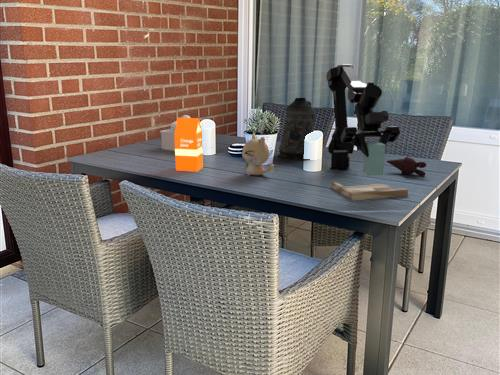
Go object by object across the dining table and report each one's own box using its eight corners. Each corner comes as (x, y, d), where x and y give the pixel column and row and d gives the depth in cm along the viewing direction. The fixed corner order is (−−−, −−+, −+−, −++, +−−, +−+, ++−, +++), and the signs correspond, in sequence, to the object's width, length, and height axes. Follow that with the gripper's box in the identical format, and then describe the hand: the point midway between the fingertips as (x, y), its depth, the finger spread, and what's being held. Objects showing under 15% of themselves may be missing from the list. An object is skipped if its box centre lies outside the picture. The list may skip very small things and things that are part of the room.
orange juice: (197, 171, 192) (195, 119, 186) (175, 170, 193) (173, 118, 188) (203, 167, 199) (202, 116, 193) (182, 165, 201) (180, 116, 195)
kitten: (235, 170, 193) (235, 132, 189) (259, 168, 196) (260, 131, 192) (249, 180, 179) (249, 139, 175) (275, 177, 183) (275, 137, 179)
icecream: (383, 157, 188) (423, 165, 180) (391, 149, 193) (430, 157, 185) (382, 173, 191) (421, 182, 183) (390, 165, 196) (428, 173, 188)
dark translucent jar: (277, 159, 213) (278, 100, 206) (280, 150, 231) (281, 95, 224) (316, 160, 211) (318, 100, 204) (316, 151, 229) (319, 96, 222)
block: (362, 171, 166) (364, 142, 163) (377, 171, 166) (379, 141, 164) (368, 175, 161) (370, 145, 158) (383, 175, 162) (385, 144, 159)
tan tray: (331, 189, 169) (332, 181, 168) (382, 184, 174) (383, 177, 173) (352, 201, 155) (353, 194, 154) (407, 196, 160) (408, 189, 159)
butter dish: (213, 147, 238) (213, 114, 234) (190, 154, 223) (189, 118, 219) (185, 143, 247) (184, 111, 243) (160, 149, 232) (159, 115, 228)
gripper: (345, 102, 160) (355, 142, 152) (400, 101, 162) (412, 141, 155) (336, 123, 169) (345, 162, 162) (388, 122, 172) (399, 160, 165)
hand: (375, 156), depth 161 cm, fingers closed on block, 5 cm apart
